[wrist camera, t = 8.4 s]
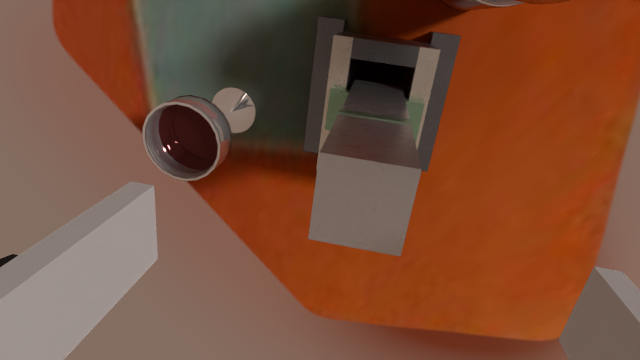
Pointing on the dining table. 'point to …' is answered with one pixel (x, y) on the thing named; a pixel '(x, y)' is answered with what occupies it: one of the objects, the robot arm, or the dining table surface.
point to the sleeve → (345, 47)
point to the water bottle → (493, 3)
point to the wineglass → (196, 132)
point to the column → (367, 168)
